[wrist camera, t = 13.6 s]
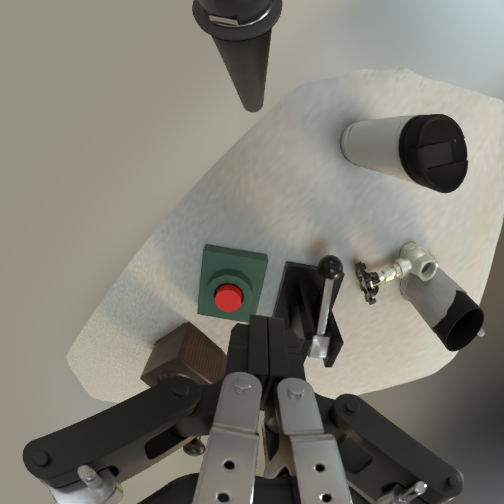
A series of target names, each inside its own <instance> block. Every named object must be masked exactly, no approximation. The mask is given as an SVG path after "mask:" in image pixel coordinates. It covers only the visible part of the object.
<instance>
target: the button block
mask: <svg viewBox="0 0 504 504" xmlns="http://www.w3.org/2000/svg"><path fill="white" fill-rule="evenodd" d="M267 263H268V258H267V255H264V254H258V253H253V252H247V251H241V250H235V249H229V248H223V247H218V246H212V245H206V247H205V249H204V252H203V261H202V270H201V280H200V290H199V301H198V313H197V314H201V315H206V316H212V317H218V318H223V319H229V320H235V321H241V322H248V321H249V316H250V314H254V315H256V312H257V307H258V303H259V298H260V294H261V290H262V285H263V281H264V276H265V272H266V267H267ZM224 284H233V285H235V286H237V287H238V288H239V289H240V290H241V293H242V299H241V305H240V307H239V308H238V309H237V310H235V311H232V312H226V311H223V310H221V309H219V308H218V307H217V305H216V303H215V297H216V293H217V290H218V288H219V287H220V286H222V285H224Z"/></svg>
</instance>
